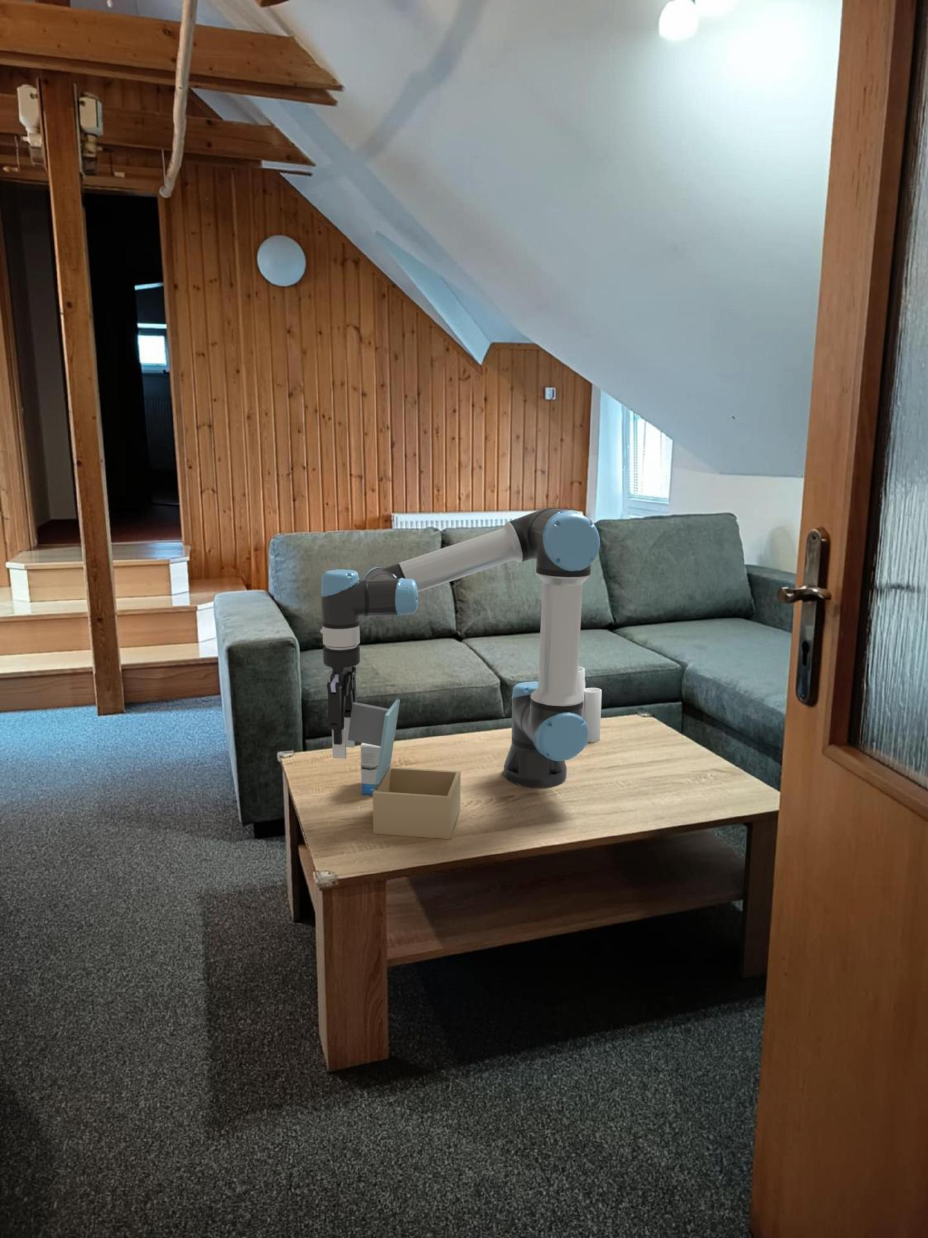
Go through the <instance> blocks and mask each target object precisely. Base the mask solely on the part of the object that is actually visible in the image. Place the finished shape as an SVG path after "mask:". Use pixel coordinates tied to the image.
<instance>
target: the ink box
mask: <svg viewBox="0 0 928 1238" xmlns="http://www.w3.org/2000/svg"><path fill="white" fill-rule="evenodd" d="M379 754H380V746H375V745H370V744H366V743H360V774H361V776H360V777H361V778H360V780H361V784H360V785H361V794H363V795H372V796H373V792H374V790H375V785H376V784H375V782H376V775H377V768H378V761H379Z"/></svg>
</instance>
